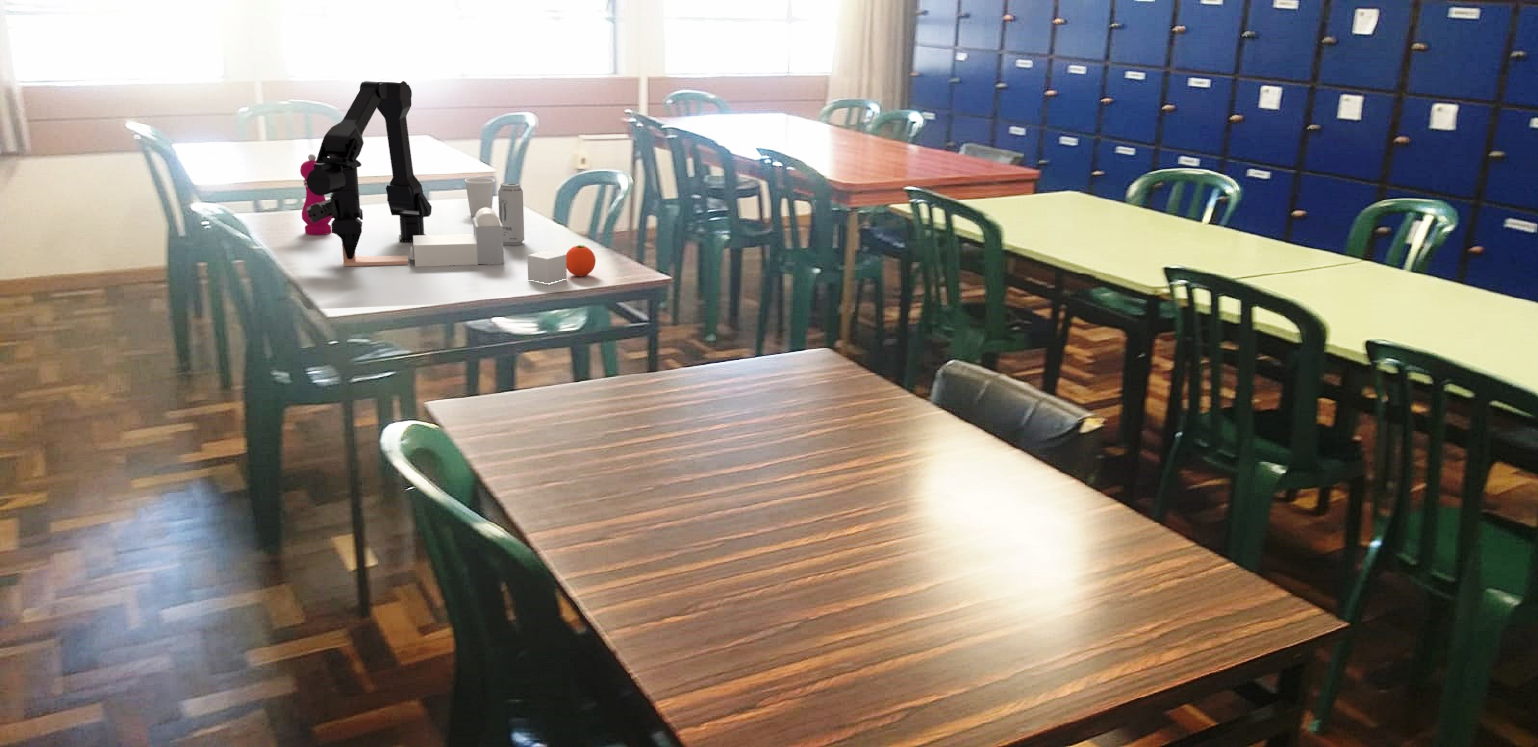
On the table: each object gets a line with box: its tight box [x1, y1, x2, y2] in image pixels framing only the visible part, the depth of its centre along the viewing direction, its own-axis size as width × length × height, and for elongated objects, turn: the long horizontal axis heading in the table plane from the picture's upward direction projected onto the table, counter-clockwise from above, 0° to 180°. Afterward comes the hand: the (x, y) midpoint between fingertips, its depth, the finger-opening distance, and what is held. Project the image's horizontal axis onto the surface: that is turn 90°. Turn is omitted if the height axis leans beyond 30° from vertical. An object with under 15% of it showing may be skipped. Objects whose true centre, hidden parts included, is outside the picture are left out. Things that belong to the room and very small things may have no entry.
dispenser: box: [409, 207, 505, 268], centre depth 271 cm, size 11×21×12 cm, turn 107°
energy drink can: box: [497, 182, 525, 247], centre depth 290 cm, size 6×6×15 cm
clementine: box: [565, 244, 596, 277], centre depth 262 cm, size 8×7×7 cm
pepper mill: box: [300, 153, 333, 236], centre depth 292 cm, size 7×7×20 cm
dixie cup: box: [464, 176, 496, 218], centre depth 324 cm, size 8×8×10 cm
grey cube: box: [527, 250, 568, 283], centre depth 256 cm, size 6×6×6 cm
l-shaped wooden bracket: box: [341, 242, 409, 267], centre depth 266 cm, size 6×14×5 cm, turn 108°
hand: (350, 256), depth 265 cm, fingers closed on l-shaped wooden bracket, 4 cm apart
